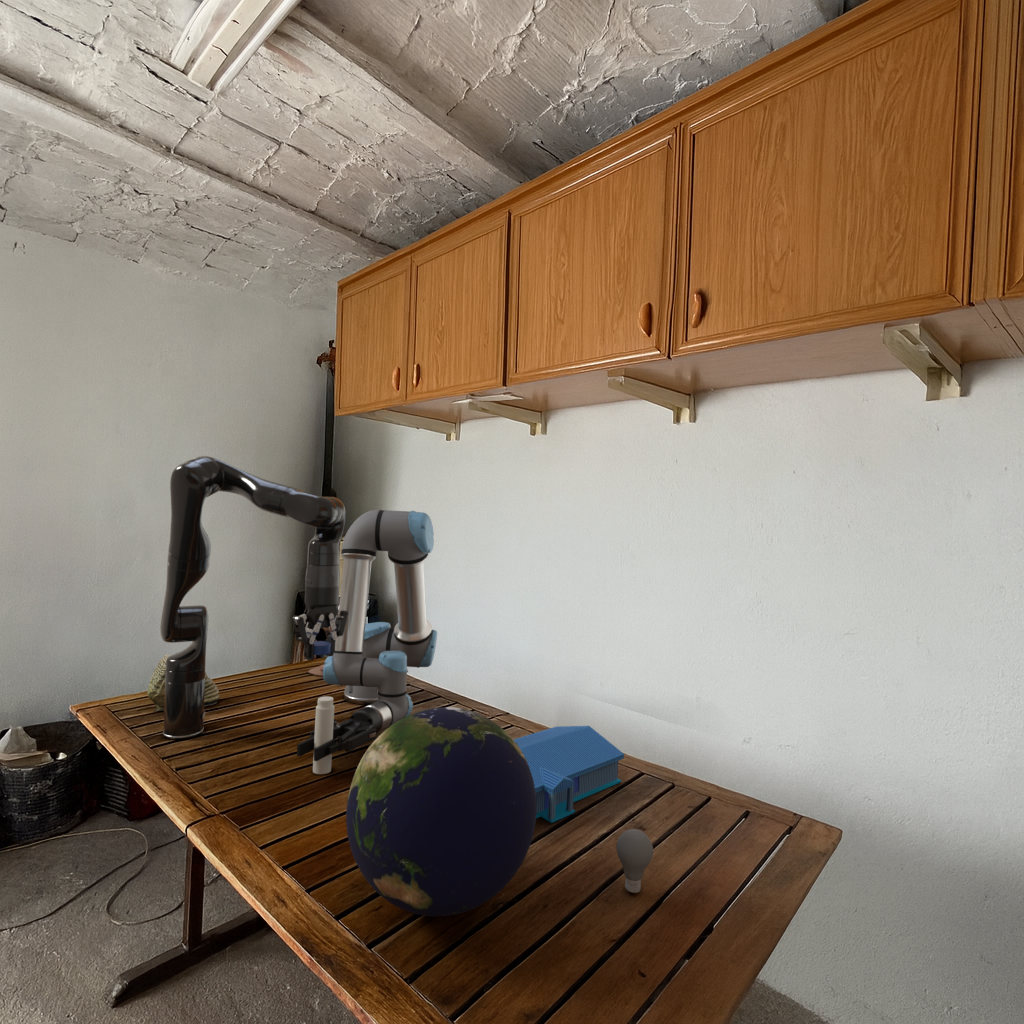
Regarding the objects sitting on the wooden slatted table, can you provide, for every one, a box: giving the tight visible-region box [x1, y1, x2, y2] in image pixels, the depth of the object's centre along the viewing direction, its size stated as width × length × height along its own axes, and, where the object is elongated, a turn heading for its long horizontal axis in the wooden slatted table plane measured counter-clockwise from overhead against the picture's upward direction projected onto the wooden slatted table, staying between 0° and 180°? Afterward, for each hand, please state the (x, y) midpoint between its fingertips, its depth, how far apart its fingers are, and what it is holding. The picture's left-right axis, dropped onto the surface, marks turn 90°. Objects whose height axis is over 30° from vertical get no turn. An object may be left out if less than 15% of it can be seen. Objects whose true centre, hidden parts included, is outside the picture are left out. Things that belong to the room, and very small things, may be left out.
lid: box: [313, 640, 331, 656], centre depth 145 cm, size 5×5×2 cm
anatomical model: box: [308, 664, 324, 677], centre depth 227 cm, size 13×4×12 cm
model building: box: [513, 725, 625, 824], centre depth 140 cm, size 39×24×10 cm, turn 132°
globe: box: [345, 706, 537, 918], centre depth 101 cm, size 30×30×30 cm
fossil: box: [147, 654, 221, 712], centre depth 185 cm, size 9×18×15 cm, turn 132°
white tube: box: [312, 695, 335, 775], centre depth 146 cm, size 4×4×17 cm
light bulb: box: [615, 828, 654, 894], centre depth 106 cm, size 6×6×10 cm
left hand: (319, 657), depth 145 cm, fingers closed on lid, 4 cm apart
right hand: (307, 752), depth 141 cm, fingers closed on white tube, 4 cm apart
